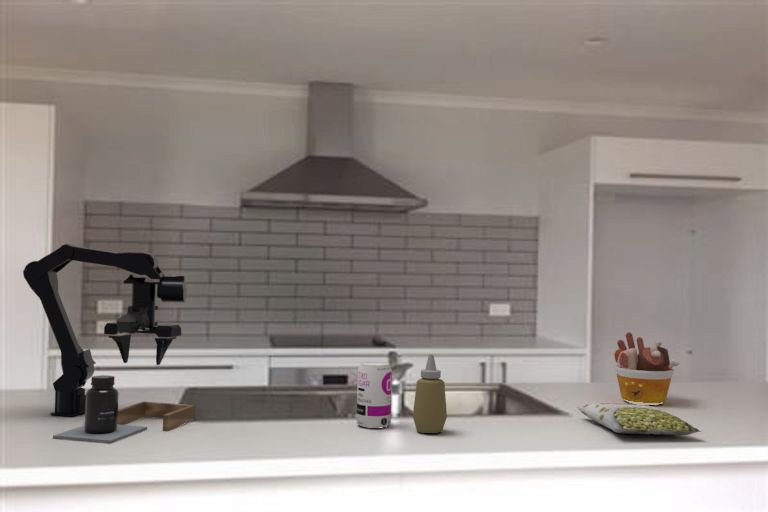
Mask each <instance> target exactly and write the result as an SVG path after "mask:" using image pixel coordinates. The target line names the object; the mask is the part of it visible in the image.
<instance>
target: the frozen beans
mask: <svg viewBox="0 0 768 512" xmlns="http://www.w3.org/2000/svg"><path fill="white" fill-rule="evenodd" d="M576 408H577V409H578V410H579V411H580V412H581V413H582V414H583V415H585V416H586V417H587V418H589V419H591V420H592V421H594V422H596V423H598V424H600V425H602V426H604V427H606V428H608V429H610V430H612V432H615V433H617V434H628V435H629V434H631V435H632V434H633V435H650V434H653V436H654V435H656V436H658V435H661V436H664V435H665V436H687V435H692V434H695V433H702V431H701V430H699V429H698V428H696V427H694V426H693V425H691V424H690V423H688V422H687V421H685V420H683V419H682V418H680V417H678V416H675V415H673V414H671V413H669V412H666V411H665V410H662V409H660V408H658V407H656V406H648V405H637V404H630V403H608V402H607V403H593V404H592V403H591V404H585V405H582V406H578V407H576Z"/></svg>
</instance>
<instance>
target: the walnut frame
mask: <svg viewBox="0 0 768 512" xmlns="http://www.w3.org/2000/svg"><path fill="white" fill-rule="evenodd" d="M142 417H143V418H152V417H155V419H162V431H163V432H168V431H171V430H174V429H177V428H178V426H179V427H180V425H181V426H183V425H182V424H184V423H186V422H188V421H191V420H193V421H195V420H196V405H195V404H182V403H181V404H180V403H169V402H154V401H141V402H138V403H134V404H132V405H128V406H125V407H121V408H118V420H117V424H119V425H127V424H128V423H131V421H132V422H134V420H135V421H137V419H138V420H140V419H142ZM139 418H140V419H139ZM191 422H192V421H191ZM188 423H189V422H188ZM186 424H187V423H186ZM184 425H185V424H184Z"/></svg>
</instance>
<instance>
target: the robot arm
mask: <svg viewBox="0 0 768 512" xmlns="http://www.w3.org/2000/svg"><path fill="white" fill-rule="evenodd" d="M72 261H74V262H75V261H76V262H82V263H89V264H94V265H103V266H108V267H116V268H119V269H122V270H124V271H127V272H130V273H131V274H129V276H128V277H127V278H125V280H123V284H126V285H127V284H131V305H128V307H127V311H126V313H124V314H123V315H121V316H120V317H119V318H117V319H116V321H114V322H113V321H112V322H107V323H106V324H105V325H104V327H103V334H104V335H108V336H107V337H108V338H109V339H112V341H114V342H115V344H116V345H117V348H118V351H119V354H120V356H121V358H122V362H123V364H127V363H128V360H129V355H130V348H131V347H130V346H131V340H132V338H131V337H132V334H151V335H153V334H154V335H155V334H156V336H157V337H155V338H154V341H155V343H156V355H155V363H156V366H160V365H161V364H162V361H163V359H164V357H165V354H166V352H167V351H168V349H169V347H170V346H171V343H172V342H173V340H177V337H180V336H182V327H181V326H180V324H175V323H174V324H172V323H171V324H170V323H169V324H168V323H167V324H158V321H155V320H156V311H158V310H159V305H156V296H157V299H159V300H160V301H161V303H186V301H187V293H188V292H187V291H188V290H187V284H186V283H187V282H186V276H185V275H177V276H174V275H173V276H171V275H168V276H167V275H165V274H164V272H163V271H162V270H161V268H160V267H159V261H158V257H156V255H154V254H153V253H151V252H145V251H143V252H142V251H133V252H129V251H128V252H119V251H116V252H115V251H111V250H103V249H96V248H91V247H84V246H77V245H75V244H72V243H71V244H70V243H69V244H67V243H66V244H62V245H61V246H60V247H58V248H57V249H56V250H54V251H52V252H51V253H48V254H47V255H45V256H43V257H42V258H40V259H39V260H34V261H31V262H29V263H27V264H26V265H25V267H24V269H23V271H22V273H23V275H22V276H23V278H24V280H25V281H26V283H27V284H28V286H29V288H30V289H31V290H32V292H33V293H34V294H35V295H36V296H37V297H38V299H40V302H41V305H42V308H43V309H44V313H45V315H46V318H47V321H48V323H49V325H50V328H51V330H52V333H53V335H54V338H55V340H56V343H57V345H58V348H59V350H60V366H61V370H62V375H61V376H59V377H58V378H57V379H56V380H55V381H54V382H53V383H52V386H53V388H54V397H55V398H54V411H51V412H50V413H49V415H51V416H61V417H62V416H63V417H75V416H79V415H82V414H85V404H86V388H85V386H86V383H87V381H89V379H92V377H93V375H94V373H95V369H96V368H95V365H96V363H97V362H96V361H95V360H94V358H93V357H92V351H91V350H90V349H91V348H88V349H86V350H84V349H83V348H82V347H81V346H80V344H79V342H78V339H77V337H76V334H75V332H74V330H73V325H72V324H71V321H70V318H69V316H68V314H67V312H66V310H65V305H64V303H63V301H62V299H61V296H60V293H59V277H58V273H59V272H61V271H62V270H64V269H65V267H67V266H68V265H69V264H70V263H71V262H72ZM132 273H133V274H132ZM134 274H135V275H140V277H137V276H135V275H134ZM141 276H142V277H141ZM145 276H146V277H145ZM148 278H149V279H151V280H159V281H149V279H148ZM83 387H84V388H83Z"/></svg>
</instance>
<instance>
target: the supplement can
mask: <svg viewBox="0 0 768 512" xmlns="http://www.w3.org/2000/svg"><path fill="white" fill-rule="evenodd" d="M392 377H393V369H392V367H391V366H390V363H389V362H386V361H385V362H384V361H363V362H360V364H359V366H358V368H357V384H356V385H357V386H356V387H357V388H356V391H357V393H356V424H357V425H358V426H359V425H360V426H363V427H371V428H379V427H386V426H388V427H389V426H390V425H391V422H392V421H391V420H392V386H393V385H392V381H393V378H392ZM360 426H359V427H360ZM386 428H387V427H386Z"/></svg>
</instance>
